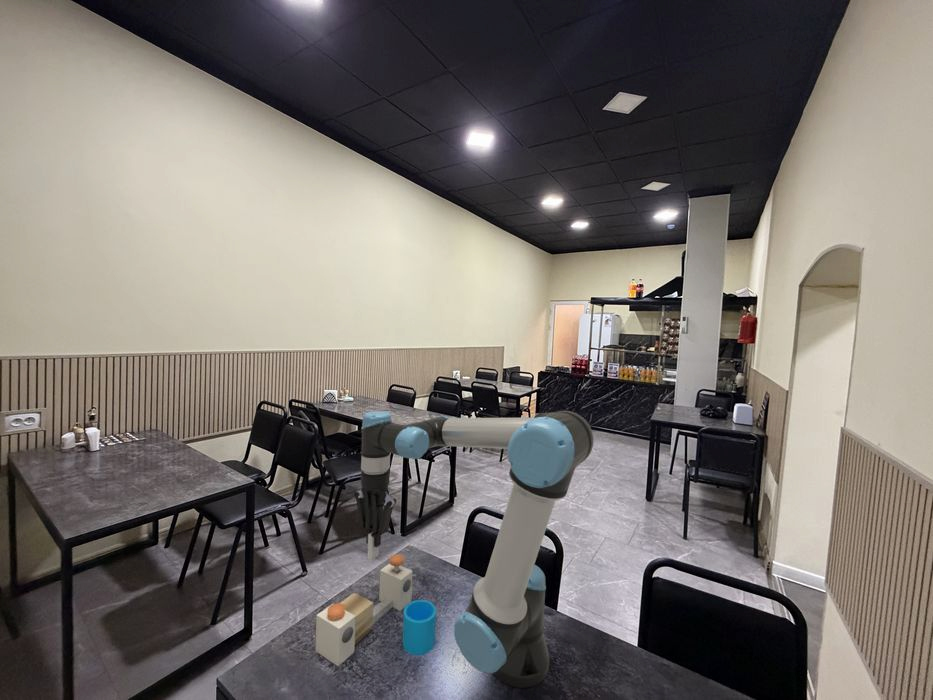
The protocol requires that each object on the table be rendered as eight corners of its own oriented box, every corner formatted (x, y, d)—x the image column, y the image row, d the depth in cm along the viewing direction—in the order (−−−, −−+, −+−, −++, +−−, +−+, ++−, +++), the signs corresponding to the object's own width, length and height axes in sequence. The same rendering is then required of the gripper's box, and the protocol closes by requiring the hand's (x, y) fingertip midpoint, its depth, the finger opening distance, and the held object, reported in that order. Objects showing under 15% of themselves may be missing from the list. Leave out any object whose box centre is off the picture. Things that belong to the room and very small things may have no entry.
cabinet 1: (355, 652, 94) (356, 616, 94) (338, 667, 90) (340, 629, 89) (332, 637, 98) (333, 603, 98) (315, 651, 94) (316, 615, 93)
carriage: (372, 632, 100) (373, 602, 100) (354, 648, 95) (355, 616, 94) (353, 621, 103) (354, 592, 103) (335, 636, 98) (336, 605, 98)
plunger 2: (405, 574, 113) (406, 557, 113) (396, 581, 110) (397, 563, 110) (395, 569, 115) (396, 552, 115) (386, 576, 112) (387, 559, 112)
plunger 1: (347, 627, 94) (348, 607, 94) (334, 638, 91) (335, 617, 91) (336, 621, 96) (337, 600, 96) (323, 631, 93) (324, 610, 93)
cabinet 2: (412, 601, 113) (413, 571, 112) (400, 611, 108) (402, 580, 108) (390, 591, 117) (391, 562, 117) (379, 600, 113) (380, 570, 112)
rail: (392, 607, 110) (392, 600, 110) (346, 646, 95) (346, 639, 95) (386, 603, 111) (386, 597, 111) (339, 642, 97) (339, 634, 97)
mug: (429, 658, 93) (430, 625, 93) (397, 651, 95) (398, 619, 94) (442, 622, 105) (443, 593, 105) (413, 617, 106) (414, 588, 106)
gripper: (403, 470, 103) (401, 557, 104) (366, 462, 109) (364, 543, 110) (385, 479, 96) (382, 571, 97) (347, 469, 103) (344, 556, 103)
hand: (373, 556), depth 103 cm, fingers closed
